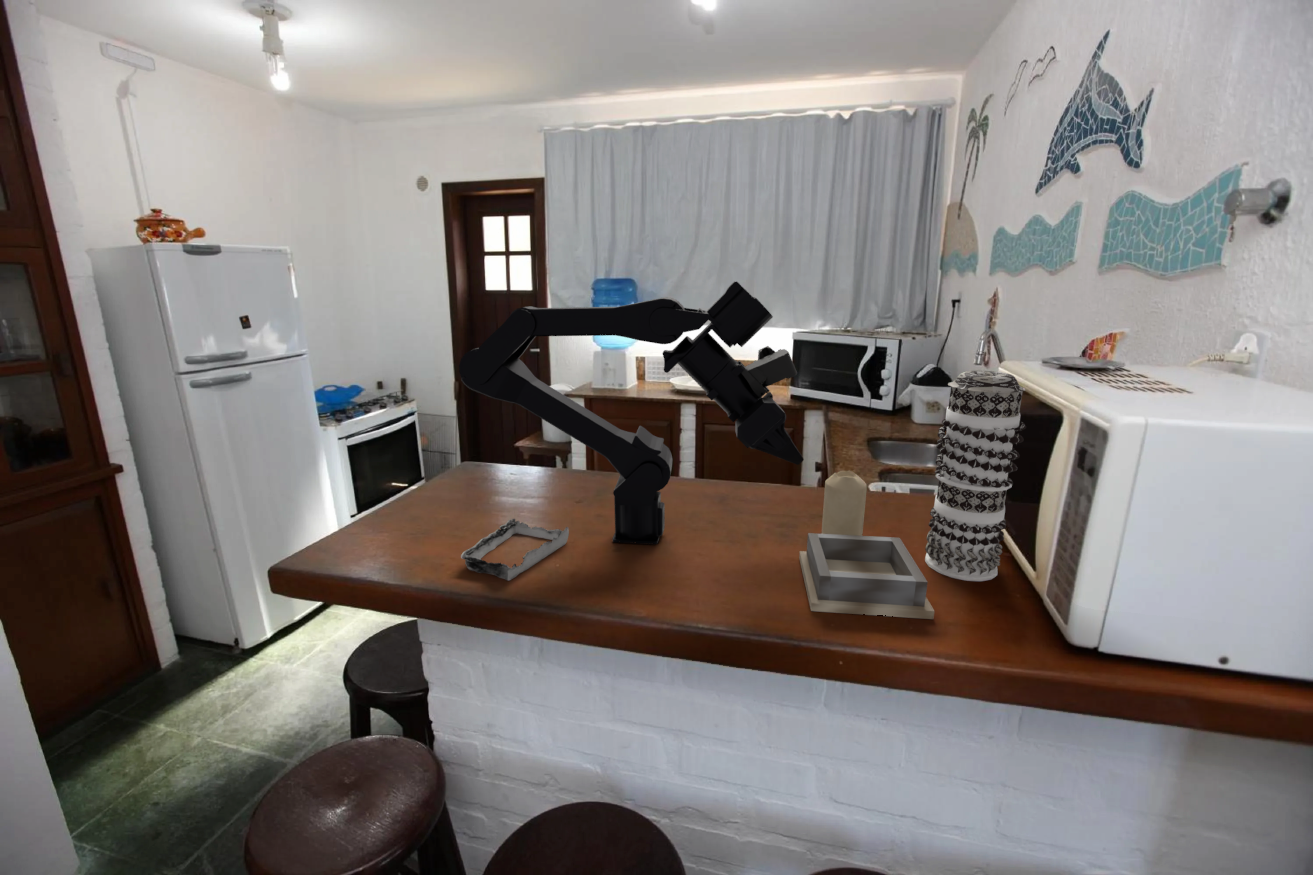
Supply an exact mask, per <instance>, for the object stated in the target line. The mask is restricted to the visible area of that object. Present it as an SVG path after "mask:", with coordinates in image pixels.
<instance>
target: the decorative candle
mask: <svg viewBox="0 0 1313 875" xmlns="http://www.w3.org/2000/svg"><path fill="white" fill-rule="evenodd" d="M947 385H948V386H950V392H949V393H950V394H949V399H948V406H947V407H946V412H945V419H943V420H941V425H943V426H941V427H939V428H938V433H937V437H938V438H939V439H938V440H937V444H936V445H935V446H936V448H937V449H938V451H939V452H940V454H937V456H936V460H935V464H936V465H937V466H936V467H935V471H934V474H935V478H937V480H938V485H937V494H935V498H934V505H933V507H932V508H931V510H930V512H929V514H930V516H931V517H932V518H931V519H930V520H929V522H928V526H929V528H930V530H929V531H928V533H927V536H926V541H927V543H926V544H925V545H926V546H925V553H926V554H925V557H924V561H925V563H926V564H927V566H928V567H929V568H931V569H932V570H934V571H935V572H937V573H939V574H941V575H943V576H946V577H949V578H952V579H956V580H962V581H965V582H966V581H967V582H985V581H991V580H993V579H995V578H996V577H997V576H998V566H1000V565H1001V562H1000V561H1001V557H1000V555H1002V553H1003V550H1002V549H1003V546H1002V545H1001V544H1000V542H1002V541H1004V540H1005V537H1004V535H1005V533H1004V530H1005V529H1006V528H1007V520H1006V519H1005V513H1006V505H1005V502H1006V497H1007V490H1009V489H1011V488H1012V486H1013V485H1014V482H1013V480H1012V479H1011V478H1009V474H1011V473H1013V472H1017V470H1018V467H1017V464H1015V463H1014V462H1013V461H1015V460H1018V459H1019V458H1020V456H1021V455H1020V453H1019V452H1018V450H1016V449H1015V448H1014V447H1013V445H1014V444H1015V446H1017V445H1018V444H1020V443H1023V442H1024V439H1025V438H1024V437H1023V435H1021V434H1020V433H1016V432H1021V431H1024V430H1026V429H1027V425H1026V423H1024V422H1023V421H1021V412H1020V411H1021V404H1022V398H1023V392H1025V391H1026V388H1025V387H1023V386H1021V385H1020V384H1019V382H1018V380H1017V378H1016V376H1014V375H1013V374H1011V373H1006V372H1001V371H992V370H967V371H964V372H961V373H960V374H959V375H958V376H956V378H955V379H954V381H951V382H948V383H947Z"/></svg>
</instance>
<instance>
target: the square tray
mask: <svg viewBox="0 0 1313 875" xmlns="http://www.w3.org/2000/svg"><path fill="white" fill-rule="evenodd" d="M806 543H807V544H806V550H805V551H804V550H800V551H799V558H798V559H799V563H800V568H801V571H802V572H801V573H802V576H803V580H804V581H803V582H804V586H805V589H806V594H807V598H808V604H809V608H810V611H811V612H820V613H835V614H850V615H852V614H853V615H863V614H865V616H877V615H883V617H892V616H893V618H894V617H896V618H909V619H923V620H924V619H925V620H934V617H935V609H934V608H933V606H932V605H931V602H930V601H929V599H928V597H927V591H928V582H929V581H928V580H927V579H926V577H925V575H924V574H923V572H922V571H921V569H920V568H919V566H918V565H917V563H916V561H915V560H914V558H913V557H912V555H911V554H910V552H909V550H908V549H907V547H906V545H905V544H904V542H903V540H902V539H901V538H900V537H893V536H892V537H890V536H872V535H871V536H870V535H862V536H856V535H836V534H822V533H813V532H808V533H807V541H806ZM885 615H886V616H885Z"/></svg>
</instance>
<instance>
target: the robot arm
mask: <svg viewBox="0 0 1313 875" xmlns="http://www.w3.org/2000/svg"><path fill="white" fill-rule="evenodd" d="M773 317H774V316H773V315H772V313H771V312H770V310H768V309H767V307H765V305H764V304H762V302H761V301H760V300H759V299H758V298H757V297H755V296H753V295H751V294H750V292H748V291H747V289H745V288H744V287H743V286H742V285H741V284H740V283H739V282H738V281H733V282H732V283H731V284H730V285H729V286H728V287H727V288H726V290H725V292H724V293H723V294H722V295H721V296H720V297H719V298H718V299H717V300H716V302H714V303H713V304H712V305H711V306H710V307H709V308H708V309H707V310H703V309H702V308H700V307H699V308H698V309H696V308H688V307H684V305H683V304H682V303H681V302H680V301H679V300H677V299H675V298H673V297H668V296H665V297H659V298H654V299H650V300H644V301H640V302H635V303H630V304H629V303H628V304H624V305H619V306H590V307H589V306H586V307H585V306H584V307H582V306H581V307H578V306H577V307H573V306H572V307H535V306H529V305H528V306H522V307H518V308H515V309H514V310H512V312H511V313H510V314H509V317H508V318H507V319H506V320H505V321H504V322H503V323H502V324H501V325H500V326H499V327H498V328H497V329H496V330H495V331H494V332H492V333H491V334H490V335H489V336H488V337H487V338H486V339H485V340H484V341H483V343H482V344H480V346H479V347H476V348H473V349H470V350H468V351H466V353H464V354H463V356H462V357H461V359H460V362H459V365H458V366H459V367H458V372H459V375H460V378H461V379H460V380H461V382H462V383H463V385H464V386H466V387H467V388H468V389H469V390H471V391H473V392H476V393H478V394H482V395H484V396H486V397H487V398H488V397H489V398H491V399H494V400H498V401H502V402H507V403H512V404H516V405H518V406H520V407H522V408H523V409H525V410H527V411H528V412H530V413H532V414H533V415H535V416H536V417H539V418H540V419H542V420H543V421H544V422H546V423H548V424H549V425H551V426H553V427H554V428H557V429H558V430H560V431H561V432H563V433H564V434H566V435H569V436H570V437H572V438H573V439H574V440H577V441H578V442H580V443H581V444H583V445H585V446H586V447H588V448H590V449H591V450H593V451H595V452H597V453H598V454H599V455H601V456H603V457H604V458H605V459H606V460H607V461H608V462H609V463H610V464H611V465H612V467H613V468H614V469H615V470H616V472H617V473H618V474H619V477H618V479H617V482H616V483H615V484H616V485H615V487H614V488H613V491H612V494H613V498H614V499H613V500H614V505H613V506H614V534H613V536H612V542H613V543H619V544H620V543H621V544H639V545H642V544H643V545H657V544H658V543H659V540H660V537H661V536H663V534H664V530H665V524H666V523H665V514H666V513H665V510H666V509H665V502H664V501H663V502H662V500H661V498H662V497H661V493H662V492H661V491H660V490H663V489H664V488H665V487H666V486H667V485H668V483H669V481H670V479H671V475H672V474H671V473H672V468H673V456H672V452H671V450H670V448H669V447H668V446H667V445H666V444H665V443H664V441H665V439H664V437H658V436H655V434H654V435H653V434H652V433H651V432H650V431H649V430H647V428H645V427H644V426H642V425H639V426H638V429H637V430H636V432H631V431H626V430H623V429H620V428H619V427H617V426H615V425H614V424H612V423H611V422H609V421H607V420H606V419H604V418H602V416H598V415H597V414H596V413H595V412H592V410H589V409H588V408H586V407H584V406H583V405H581V404H579V403H578V402H576V401H574V400H573V399H571V398H569V397H568V396H567V395H565V394H563V393H561V392H560V391H558V390H556V389H555V388H553V387H551V386H550V385H548V384H546V383H545V382H543V381H541V380H540V379H539V378H537V377H536V376H535V375H534V374H533V372H532V371H531V370H530V369H529V367H528V366H527V365H526V364H525V363H524V361H523V360H521V359H520V358H521V356H522V355H523V354H524V353H525V352H526V351H527V349H528V348H529V346H530V344H531V343H532V342H533V341H534V340H535V338H536V337H584V336H585V337H587V336H588V337H589V336H590V337H591V336H592V337H595V336H597V337H598V336H600V337H601V336H606V337H607V336H616V337H622V338H627V339H631V340H635V341H641V342H647V343H652V344H660V345H667V344H672V343H674V342H676V341H677V340H678V339H680V337H682V335H683V334H684V333H687V332H692V331H697V330H700V329H701V328H702V327H703V326H704V325H705V324H706V323H707V322H708V321H710V323H709V324H708V325H706V327H705V328H704V329H703V330H702V331H701V332H700V333H699V334H698V335H696V336H695V337H694V338H693V339H692V338H691V337H690V336H687V335H686V336H685V337H684V338H683V339H682V340H681V341H680V342H679V343H678V344H677V345H676V346H675V347H674V348H673V349H672V350H670V349H669V350H668V349H664V350H663V351H662V357H663V362H664V365H663V366H664V367H663V372H664V373H666V374H667V373H669V372H670V371H671V370H673V369H674V367H675V366H676V365H678V366H679V367H680V368H681V369H683V371H684V372H685V373H687V375H689V377H690V378H691V379H692V380H693V381H694V382H696V384H697V385H698V386H699V387H700V388H701V389H702V390H703V391H704V392H705V394H706V396H707V398H709V399H710V401H714V402H715V403H716V404H717V405H718V406H719V407H720V408H721V409H722V410H723V411H724V412H725V413H726V414H727V418H728V419H730V421H731V422H732V423H734V422H735V425H734V427H735V428H734V429H735V430H734V431H735V434H736V438H737V439H738V440H739V441H740V442H741V443H742V444H743V445H744V446H745V447H746V449H749V448H750V449H752V450H756V451H759V452H762V453H766V454H768V455H771V456H774V457H777V458H778V459H780V460H781V459H782V460H784V461H786V462H789V463H792V464H795V465H797V466H799V465H800V464H802V462H803V461H804V457H803V455H802V454H801V452H800V451H799V450H798V448H797V446H796V445H795V443H794V442H793V438H791V436H790V434H789V433H788V431H787V430H786V428H785V424H786V420H787V414H786V412H785V411H784V410H783V408H782V407H781V406H780V405H779V404H778V403H777V401H776V400H775V399H774V396H773V394H772V392H771V391H770V389H769V387H770V386H772V385H773V384H776V383H778V382H781V381H783V380H785V379H791V378H793V377H795V376H797V374H798V372H797V371H798V370H796V367H795V364H794V362H793V359H792V356H791V355H790V353H789V351H788V350H787V349H785V348H783V349H781V348H780V349H778V350H777V351H775V350H773V349H772V348H771V347H770V346H769V345H767V346H765V347H762V348H759V350H758V352H757V353H758V356H757V359H756V360H755V359H754V361H753V362H751V363H750V364H748V365H745V364H743V362H741V361H740V360H738V361H737V360H736V359H734V358H733V357H732V355H731V354H729V352H728V351H726V349H725V348H723V346H722V345H721V344H720V343H719V342H718V341H717V340H716V339H715V338H714V337H713V336H712V335H711V334H710V332H711V331H713V333H715V335H717V336H718V337H719V339H721V342H722V341H723V343H724V344H725V345H727V347H729V348H732V347H735V346H736V345H738V346H739V347H740V348H743V347H744V346H745V345H746V344H747V342H749V341H750V340H751V339H752V338H753V337H754V336H755V335H756V334H757V333H758V332H759V331H760V330H762V328H763V327H764V326H765V325H766V324H767V323H769V322H770V321H771V319H773Z"/></svg>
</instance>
